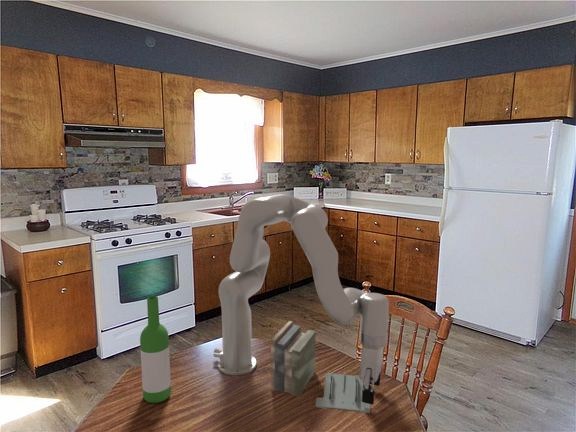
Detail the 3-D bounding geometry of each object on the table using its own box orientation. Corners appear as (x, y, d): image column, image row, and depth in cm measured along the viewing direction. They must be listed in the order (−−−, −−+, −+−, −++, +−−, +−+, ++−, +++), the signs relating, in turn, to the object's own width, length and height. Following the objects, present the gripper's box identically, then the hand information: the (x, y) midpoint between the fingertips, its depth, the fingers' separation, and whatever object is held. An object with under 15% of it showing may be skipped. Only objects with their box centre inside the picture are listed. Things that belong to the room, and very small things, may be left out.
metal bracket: (319, 366, 124) (369, 370, 121) (319, 379, 126) (368, 384, 124) (315, 405, 111) (370, 411, 108) (315, 420, 113) (369, 426, 111)
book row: (271, 389, 121) (270, 339, 118) (289, 366, 134) (289, 320, 131) (299, 396, 117) (299, 345, 115) (314, 372, 130) (315, 325, 128)
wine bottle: (137, 398, 116) (131, 298, 111) (159, 385, 122) (155, 290, 118) (154, 408, 112) (149, 304, 107) (176, 394, 118) (173, 296, 113)
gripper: (366, 323, 123) (364, 375, 126) (353, 348, 107) (351, 407, 110) (391, 327, 120) (388, 380, 123) (381, 354, 104) (379, 414, 107)
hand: (371, 393), depth 116 cm, fingers open, 9 cm apart
